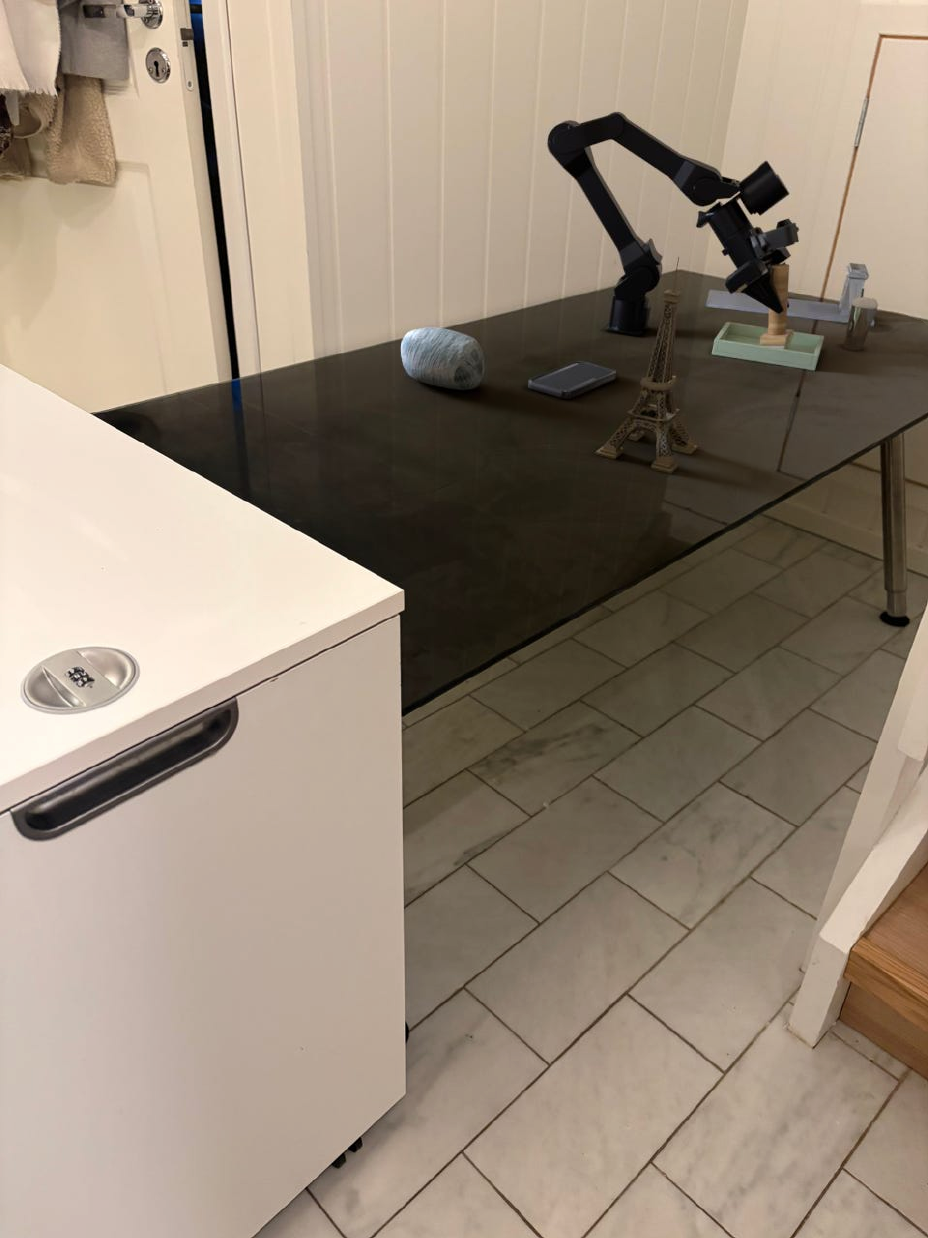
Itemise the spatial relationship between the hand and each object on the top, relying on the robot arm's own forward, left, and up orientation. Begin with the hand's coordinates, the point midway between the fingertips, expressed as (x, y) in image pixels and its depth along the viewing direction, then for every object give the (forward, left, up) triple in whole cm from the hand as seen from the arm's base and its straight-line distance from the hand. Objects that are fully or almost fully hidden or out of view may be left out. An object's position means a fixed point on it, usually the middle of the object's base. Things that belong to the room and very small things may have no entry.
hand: (784, 310), depth 166 cm
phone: (-27, -35, -8) cm, 45 cm away
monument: (-1, +35, -8) cm, 36 cm away
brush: (0, 0, -7) cm, 7 cm away
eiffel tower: (-10, -57, -8) cm, 58 cm away
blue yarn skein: (-45, -46, -8) cm, 65 cm away
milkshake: (+13, +12, -8) cm, 19 cm away
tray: (-1, 0, -8) cm, 8 cm away
